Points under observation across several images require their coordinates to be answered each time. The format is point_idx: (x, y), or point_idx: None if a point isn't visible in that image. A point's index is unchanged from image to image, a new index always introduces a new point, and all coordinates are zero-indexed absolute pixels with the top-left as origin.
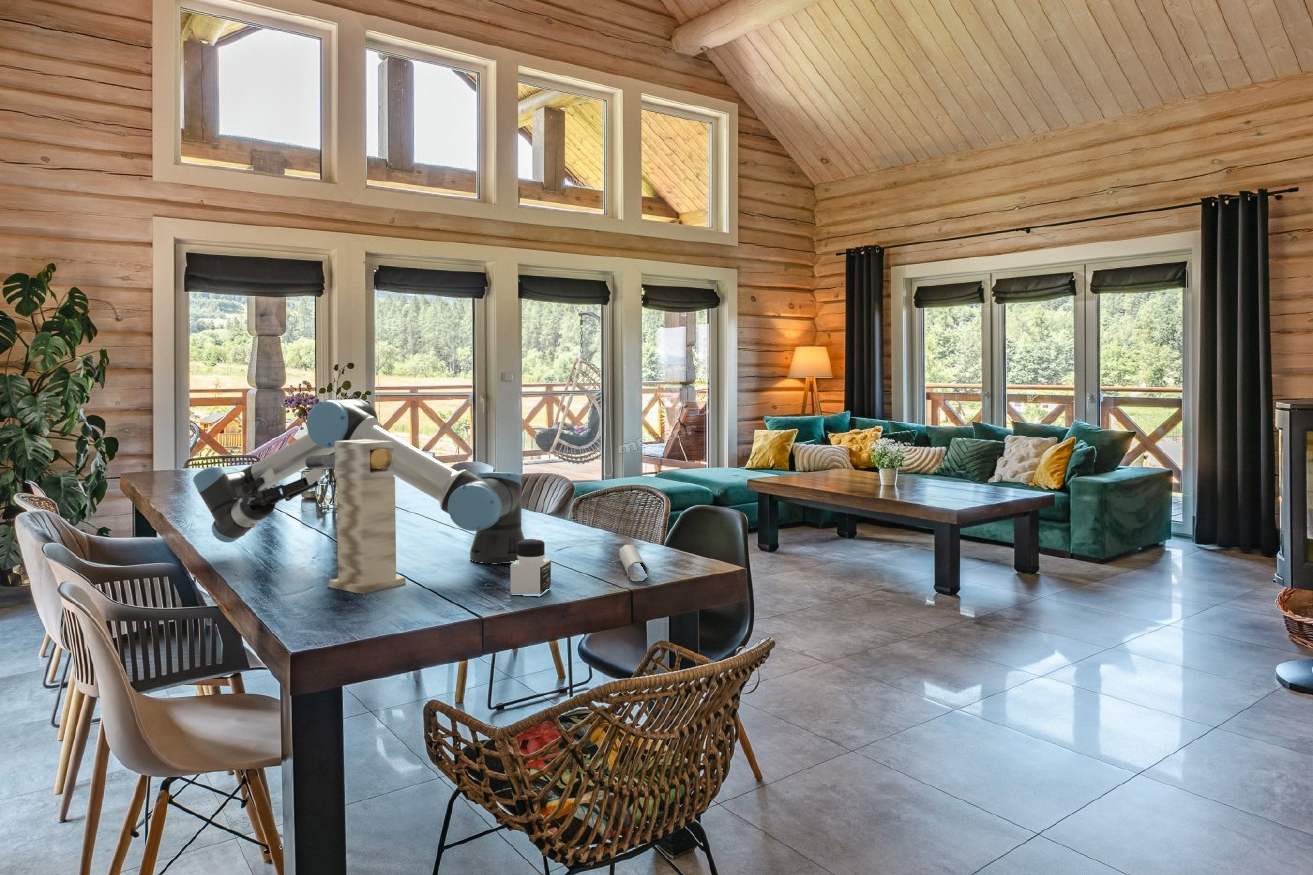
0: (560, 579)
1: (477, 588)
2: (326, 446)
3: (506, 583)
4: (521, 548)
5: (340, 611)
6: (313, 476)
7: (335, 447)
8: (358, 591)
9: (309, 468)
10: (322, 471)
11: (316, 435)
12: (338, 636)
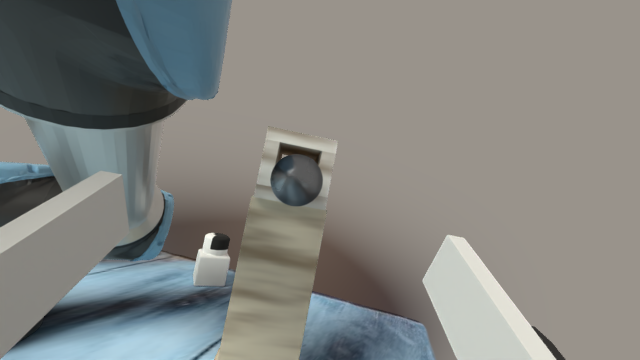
0: (145, 276)
1: (208, 304)
2: (210, 97)
3: (176, 295)
4: (228, 242)
5: (357, 349)
6: (44, 285)
7: (335, 153)
8: None
9: (305, 204)
10: (123, 218)
11: (226, 26)
12: (387, 321)
